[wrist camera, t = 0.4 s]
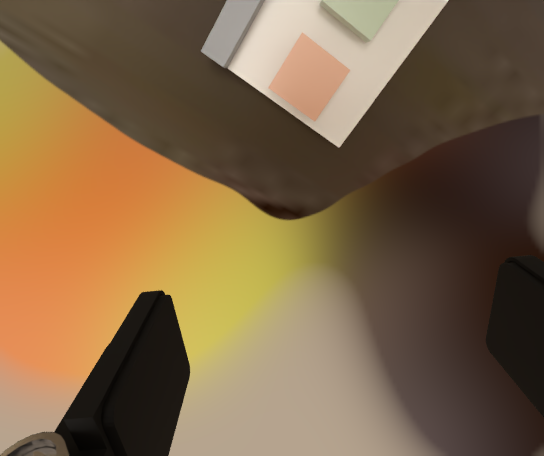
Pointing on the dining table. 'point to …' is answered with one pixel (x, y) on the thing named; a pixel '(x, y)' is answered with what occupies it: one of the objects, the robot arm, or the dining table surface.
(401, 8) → the keypad
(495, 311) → the robot arm
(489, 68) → the dining table surface
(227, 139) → the dining table surface
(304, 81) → the terracotta key
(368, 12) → the sage key
